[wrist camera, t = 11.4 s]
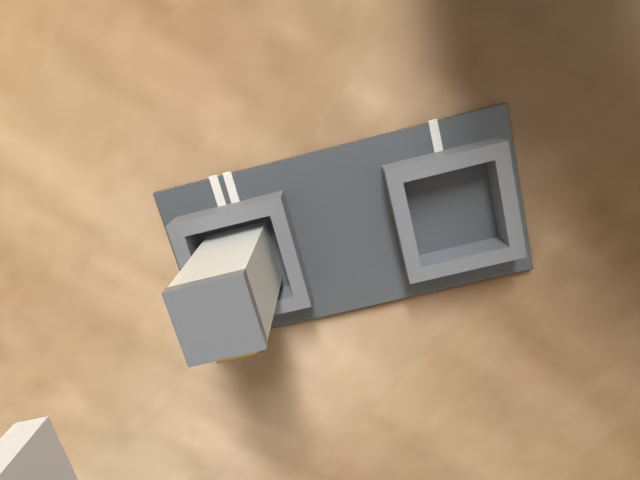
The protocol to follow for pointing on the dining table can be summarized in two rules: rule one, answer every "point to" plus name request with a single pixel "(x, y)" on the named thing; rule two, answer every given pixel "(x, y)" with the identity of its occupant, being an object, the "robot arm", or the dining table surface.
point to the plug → (226, 296)
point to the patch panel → (372, 214)
